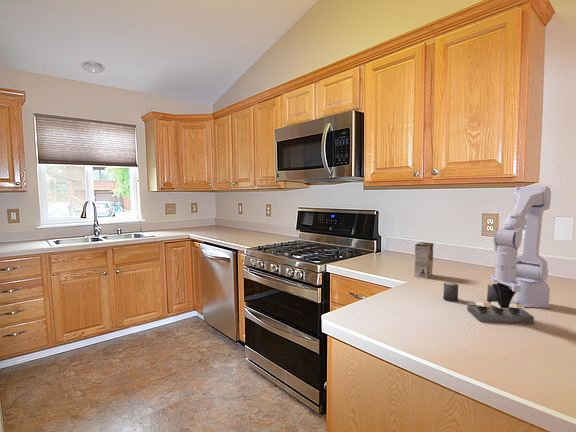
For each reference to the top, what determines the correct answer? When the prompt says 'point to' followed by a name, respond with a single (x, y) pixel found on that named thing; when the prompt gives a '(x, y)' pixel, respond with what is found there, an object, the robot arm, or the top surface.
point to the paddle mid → (497, 305)
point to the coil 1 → (450, 292)
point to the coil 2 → (491, 294)
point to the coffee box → (423, 260)
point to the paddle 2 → (516, 305)
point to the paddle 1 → (483, 304)
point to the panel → (500, 314)
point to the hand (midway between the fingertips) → (503, 307)
